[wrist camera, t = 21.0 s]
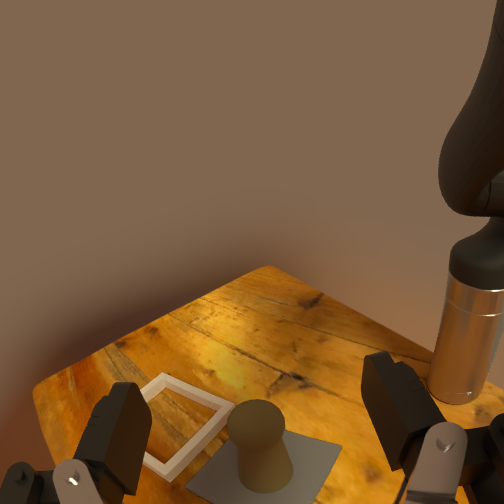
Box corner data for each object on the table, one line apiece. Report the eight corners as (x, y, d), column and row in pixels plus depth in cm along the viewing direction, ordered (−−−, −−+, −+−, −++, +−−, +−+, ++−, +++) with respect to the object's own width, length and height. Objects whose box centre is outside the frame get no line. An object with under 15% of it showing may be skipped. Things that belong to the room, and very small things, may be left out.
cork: (301, 458, 28) (299, 397, 25) (279, 500, 23) (270, 449, 20) (253, 445, 31) (239, 383, 27) (228, 482, 26) (204, 426, 22)
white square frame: (165, 380, 45) (162, 372, 44) (237, 411, 37) (235, 403, 37) (102, 430, 34) (97, 423, 33) (170, 482, 26) (165, 475, 26)
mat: (247, 418, 36) (247, 416, 36) (341, 448, 29) (342, 445, 29) (185, 488, 26) (184, 486, 25) (290, 538, 19) (290, 536, 19)
